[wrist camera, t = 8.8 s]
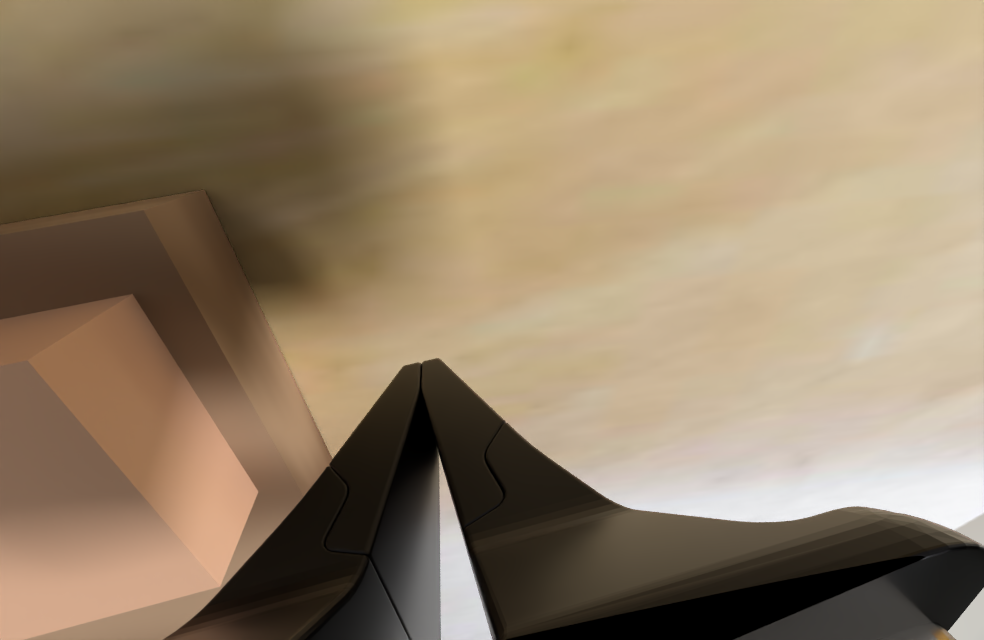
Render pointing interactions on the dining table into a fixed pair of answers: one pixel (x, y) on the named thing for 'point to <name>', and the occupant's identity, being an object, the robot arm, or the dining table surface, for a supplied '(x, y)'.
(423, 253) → the dining table surface
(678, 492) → the dining table surface
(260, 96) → the dining table surface
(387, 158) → the dining table surface
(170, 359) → the tile
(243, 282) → the board
